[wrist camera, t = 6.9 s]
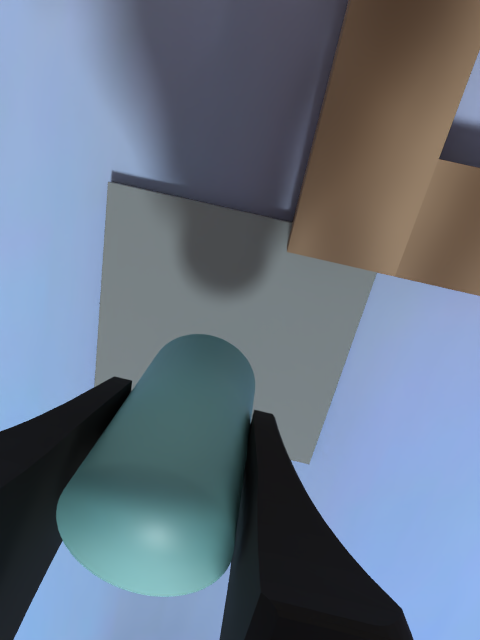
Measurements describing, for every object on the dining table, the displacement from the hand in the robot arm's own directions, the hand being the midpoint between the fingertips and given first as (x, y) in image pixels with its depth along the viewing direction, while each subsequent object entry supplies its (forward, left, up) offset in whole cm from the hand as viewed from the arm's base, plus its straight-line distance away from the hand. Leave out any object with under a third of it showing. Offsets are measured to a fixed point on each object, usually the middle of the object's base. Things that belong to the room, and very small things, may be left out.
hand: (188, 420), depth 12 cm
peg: (0, 0, -2) cm, 2 cm away
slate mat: (0, 0, -7) cm, 7 cm away
